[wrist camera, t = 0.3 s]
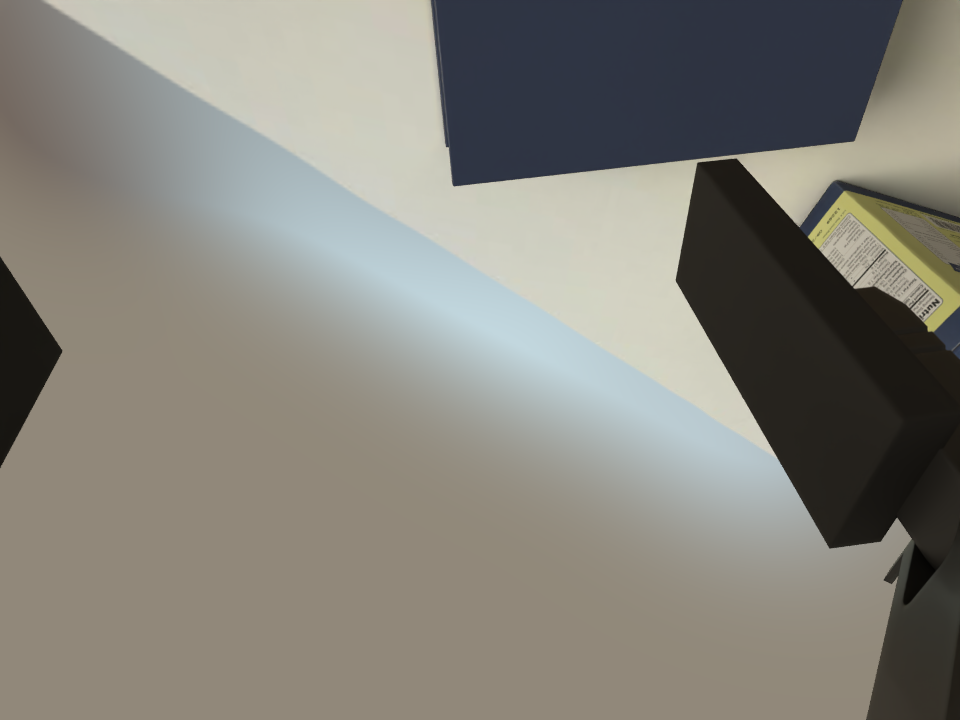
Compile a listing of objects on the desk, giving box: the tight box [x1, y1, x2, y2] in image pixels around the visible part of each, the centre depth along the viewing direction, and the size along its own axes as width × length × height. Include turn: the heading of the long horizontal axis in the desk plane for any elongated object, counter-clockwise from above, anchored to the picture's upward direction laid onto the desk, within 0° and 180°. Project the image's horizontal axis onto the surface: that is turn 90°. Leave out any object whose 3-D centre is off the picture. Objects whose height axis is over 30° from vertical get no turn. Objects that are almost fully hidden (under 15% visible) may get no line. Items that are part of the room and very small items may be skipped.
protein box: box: [800, 181, 960, 359], centre depth 45 cm, size 10×16×16 cm
